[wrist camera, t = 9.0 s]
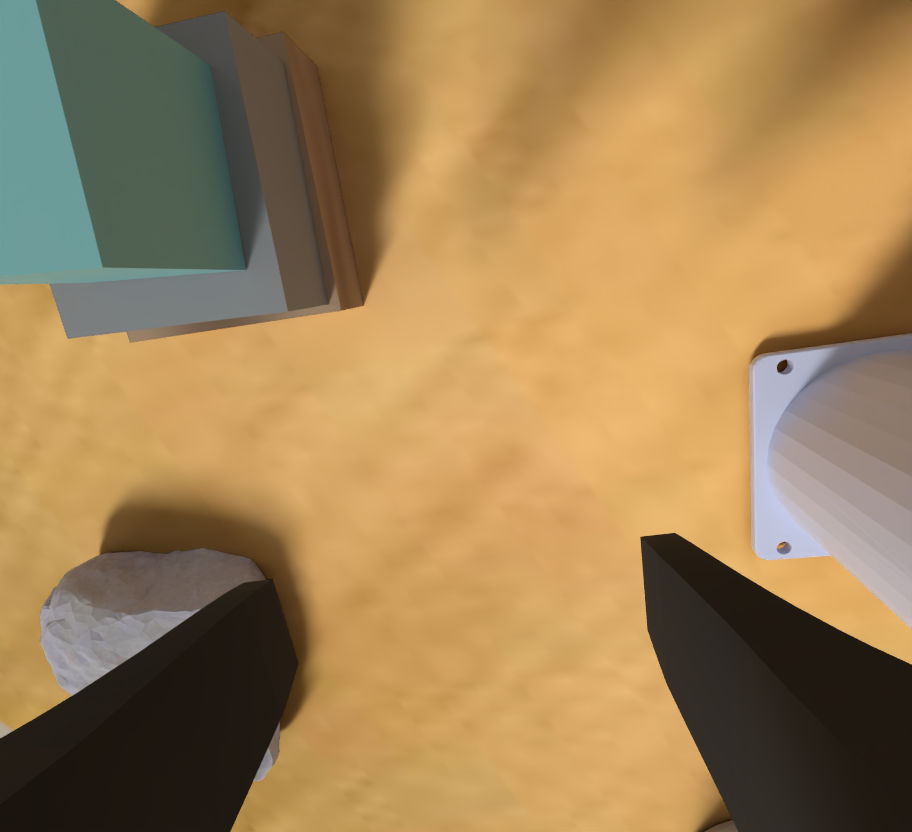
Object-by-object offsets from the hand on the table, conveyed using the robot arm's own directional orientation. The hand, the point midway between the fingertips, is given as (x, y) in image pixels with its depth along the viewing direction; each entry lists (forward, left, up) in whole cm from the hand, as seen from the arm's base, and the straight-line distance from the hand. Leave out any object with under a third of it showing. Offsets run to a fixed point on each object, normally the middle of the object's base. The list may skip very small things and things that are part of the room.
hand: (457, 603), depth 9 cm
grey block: (+8, -10, -8) cm, 15 cm away
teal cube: (+7, -10, -5) cm, 13 cm away
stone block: (+16, +10, -11) cm, 21 cm away
